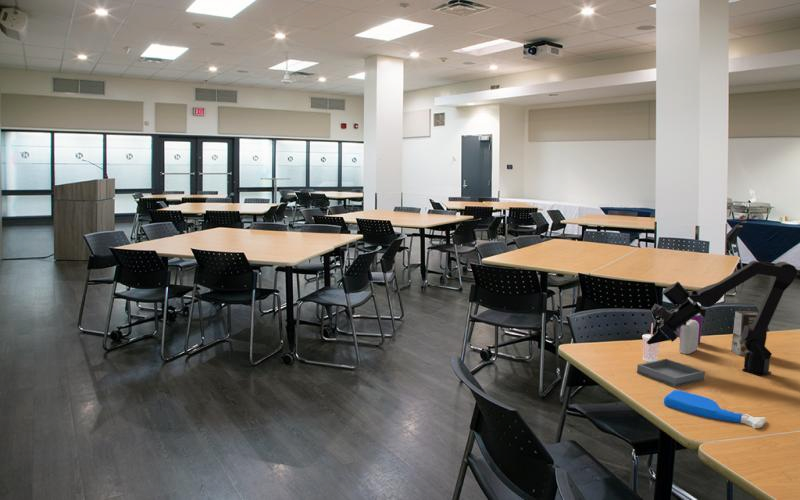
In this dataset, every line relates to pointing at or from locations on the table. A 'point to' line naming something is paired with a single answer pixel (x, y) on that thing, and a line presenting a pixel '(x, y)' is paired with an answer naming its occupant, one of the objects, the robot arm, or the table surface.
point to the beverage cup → (649, 348)
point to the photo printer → (689, 337)
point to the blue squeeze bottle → (708, 408)
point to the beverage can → (699, 320)
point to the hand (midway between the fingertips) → (646, 340)
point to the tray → (671, 372)
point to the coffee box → (741, 330)
